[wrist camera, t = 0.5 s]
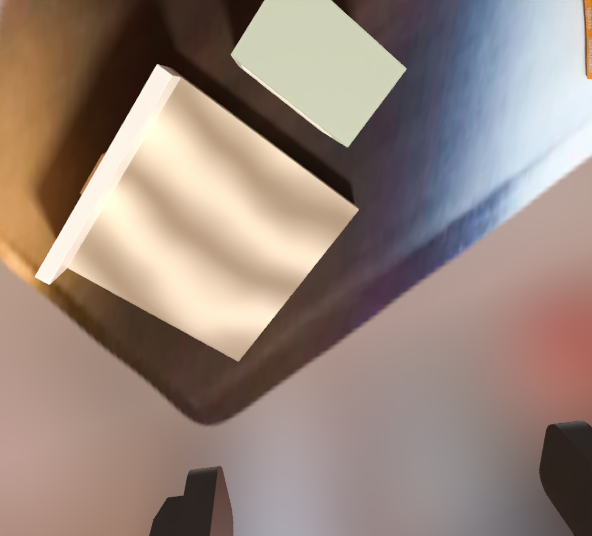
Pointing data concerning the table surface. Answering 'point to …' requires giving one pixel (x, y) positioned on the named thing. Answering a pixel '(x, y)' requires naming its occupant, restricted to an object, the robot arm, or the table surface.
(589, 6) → the supplement box
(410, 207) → the table surface
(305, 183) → the shelf board
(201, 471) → the robot arm
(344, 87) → the carton
